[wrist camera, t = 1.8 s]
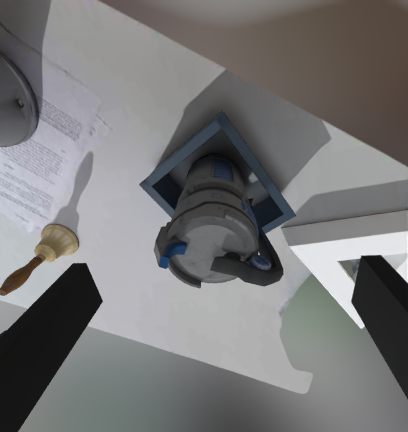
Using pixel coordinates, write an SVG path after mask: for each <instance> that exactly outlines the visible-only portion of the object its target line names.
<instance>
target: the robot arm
mask: <svg viewBox="0 0 408 432" xmlns="http://www.w3.org/2000/svg"><path fill="white" fill-rule="evenodd" d="M37 122H38V110H37V104H36V100H35V97H34V94H33V92H32V89H31V87H30V85H29V84H28V82H27V80H26V79H25V77H24V76H23V74H22V73H21V72H20V70H19V69H18V68H17V67H16V66H15V65H14V64H13V63H12V62H11V61H10V60H9V59H8V58H7V57H6V56H4V55H3V54H2V53H0V147H9V146H13V145H17V144H20V143H23V142H25V141H26V140H28V139H29V138H30V137H31V136H32V135H33V133H34V131H35V129H36V126H37ZM102 302H103V300H102V298H101V296H100V294H99V291H98V289H97V287H96V285H95V282H94V280H93V278H92V275H91V273H90V271H89V269H88V266H87V264H86V263H73V264H72V265H71V266H70V267H69V268H68V269H67V270H66V271H65V272H64V273H63V274H62V275H61V276H60V277H59V278H58V279H57V280H56V281H55V282H54V283H53V284H52V285H51V286H50V287H49V288H48V289H47V290H46V291H45V292H44V293H43V294H42V295H41V296H40V297H39V298H38V299H37V300H36V301H35V302H34V303H33V304H32V306H31V307H30V308H29V309H28V310H27V311H26V312H25V313H24V314H23V315H22V316H21V317H20V318H19V319H18V320H17V321H16V322H15V323H14V324H13V325H12V326H11V327H10V328H9V329H8V330H6V331H4V332H3V333H1V334H0V432H18V431H19V429H20V428H21V426H22V425H23V423H24V422H25V420H26V418H27V417H28V415H29V414H30V412H31V411H32V409H33V408H34V406H35V405H36V403H37V402H38V400H39V399H40V397H41V396H42V394H43V392H44V391H45V389H46V388H47V386H48V385H49V383H50V382H51V380H52V378H53V377H54V375H55V374H56V372H57V371H58V369H59V368H60V366H61V365H62V363H63V362H64V360H65V359H66V357H67V356H68V354H69V353H70V351H71V350H72V348H73V346H74V345H75V343H76V342H77V340H78V339H79V337H80V335H81V334H82V332H83V331H84V330H85V328H86V327H87V325H88V323H89V322H90V320H91V319H92V317H93V316H94V314H95V313H96V311H97V310H98V308H99V307H100V305H101V304H102ZM351 303H352V305H353V306H354V308H355V310H356V311H357V313H358V315H359V317H360V318H361V320H362V322H363V323H364V325H365V327H366V328H367V330H368V332H369V334H370V335H371V337H372V339H373V340H374V342H375V344H376V346H377V347H378V349H379V350H380V353H381V354H382V356H383V357H384V359H385V361H386V363H387V364H388V366H389V368H390V370H391V371H392V373H393V375H394V377H395V378H396V380H397V382H398V383H399V385H400V387H401V388H402V390H403V392H404V394H405V395H406V397H407V399H408V283H407V282H406V281H405V280H404V278H403V277H402V276H401V275H400V274H399V273H398V272H397V271H396V270H395V269H394V268H393V267H392V266H391V265H390V264H389V263H388V262H387V261H386V260H385V259H384V258H383V257H382V255H362V256H361V259H360V263H359V268H358V272H357V277H356V281H355V286H354V290H353V295H352V299H351Z"/></svg>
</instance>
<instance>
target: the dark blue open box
mask: <svg viewBox="0 0 408 432" xmlns="http://www.w3.org/2000/svg"><path fill="white" fill-rule="evenodd" d="M220 129H222V130H223V131H224V133H225V134H226V135H227V137H228V138H229V139H230V141H231V142H232V144H233V145H234V146H235V148H236V149H237V150H238V152H239V153H240V155H241V156H242V157H243V159H244V160H245V161H246V163H247V164H248V166H249V167H250V168H251V170H252V171H253V172H254V174H255V175H256V177H257V178H258V179H259V181H260V182H261V183H262V185H263V186H264V188H265V189H266V190H267V192H268V193H269V194H270V197H268V198H267V199H265V200H264V201H262V202H261V203H259V204H257V205H256V206H254V207H253V208H252V209H253V212H254V215H255V218H256V219H257V221H258V223H259V224H260V226H261V228H262V229H263V231H264V233H265V234H266V233H267V232H269V231H271V230H272V229H274V228H276V227H278V226H279V225H281V224H283V223H285V222H286V221H288V220H290V219H292V218H293V217H295V216H296V214H295V213H294V212H293V210H292V209H291V207H290V206H289V204H288V203H287V202H286V200H285V199H284V197H283V196H282V194H281V193H280V192H279V190H278V189H277V187H276V186H275V184H274V183H273V182H272V180H271V179H270V177H269V176H268V174H267V173H266V172H265V170H264V169H263V167H262V166H261V165H260V163H259V162H258V160H257V159H256V157H255V156H254V155H253V153H252V152H251V150H250V149H249V147H248V146H247V145H246V143H245V142H244V140H243V139H242V137H241V136H240V135H239V133H238V132H237V130H236V129H235V127H234V126H233V125H232V123H231V122H230V120H229V119H228V117H227V116H226V115H225V113H224V112H223V111H221V112H220V113H219V114H218V115H217V116H216V117H214V118H213V119H212V120H211V121H210V122H209V123H208V124H206V125H205V126H204V127H203V128H202V129H201V130H199V131H198V132H197V133H196V134H195V135H194V136H192V137H191V138H190V139H189V140H188V141H187V142H185V143H184V144H183V145H182V146H181V147H180V148H178V149H177V150H176V151H175V152H174V153H173V154H171V155H170V156H169V157H168V158H167V159H166V160H165V161H163V162H162V163H161V164H160V165H159V166H158V167H156V168H155V169H154V171H153V172H152V173H151V174H150V175H149V176H148V177H147V178H146V179H145V180H144V181H142V182H141V183H140V184H139V185H140V186H141V187H142V188H143V189H144V190H145V191H146V192H147V193H148V194H149V195H150V196H151V197H152V198H153V199H154V200H155V201H156V202H157V203H158V205H159V206H160V207H161V208H162V209H163V210H164V211H165V212H166V213H167V214H168V215H169V216H170V217H171V218H172V217H173V214H174V212H175V209H176V206H177V203H178V200H179V197H180V195H181V194H182V192H181V190H180V189H179V188H178V187H177V186H176V185H175V184H174V183H173V182H172V181H171V179H170V178H169V177H168V176H167V175H166V174H167V173H168V172H170V171H171V170H172V169H173V168H174V167H176V166H177V165H178V164H179V163H180V162H182V161H183V160H184V159H185V158H187V157H188V156H189V155H190V154H191V153H193V152H194V151H195V150H196V149H197V148H199V147H200V146H201V145H202V144H203V143H205V142H206V141H207V140H208V139H209V138H211V137H212V136H213V135H214V134H216V133H217V132H218V131H219V130H220Z"/></svg>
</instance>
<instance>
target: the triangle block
mask: <svg viewBox="0 0 408 432" xmlns="http://www.w3.org/2000/svg"><path fill="white" fill-rule="evenodd" d="M281 230H282V232H283V234H284V236H285V238H286V241H287V243H288V245H289V247H290V248H291V249H292V250H293V251H294V253H295V254H296V255H297V256H298V257H299V258H300V259H301V261H302V262H303V263H304V264H305V265H306V266H307V267H308V269H309V270H310V271H311V272H312V273H313V274H314V275H315V277H316V278H317V279H318V280H319V281H320V282H321V283H322V285H323V286H324V287H325V288H326V289H327V290H328V291H329V293H330V294H331V295H332V296H333V297H334V298H335V299H336V301H337V302H338V303H339V304H340V305H341V306H342V307H343V309H344V310H345V311H346V312H347V313H348V314H349V316H350V317H351V318H352V319H353V320H354V321H355V322H356V323H357V325H359V327H360V328H361V329H362V328H363V327H364V326H365V325H364V323H363V322H362V320H361V318H360V317H359V315H358V313H357V311H356V310H355V308H354V306H353V305H352V303H351V299H352V295H353V290H354V286H355V281H356V277H357V272H358V270H357V271H356V272H355V273H354V274H353V276H352V277H351V276H350V275H349V274H348V273H347V271H346V270H345V269H344V268H343V266H342V265H341V264H340V262H339V261H343V260H352V259H360V258H361V256H362V255H382V257H383V258H384V259H385V260H386V261H387V262H388V263H389V264H390V265H391V266H392V267H393V268H394V269H395V270H396V271H397V272H398V273H399V274H400V275H401V276H402V277H403V278H404V280H405V281H406V282H407V283H408V210H404V211H397V212H390V213H383V214H376V215H369V216H362V217H355V218H349V219H342V220H335V221H328V222H321V223H314V224H307V225H300V226H293V227H286V228H281Z"/></svg>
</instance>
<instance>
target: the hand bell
mask: <svg viewBox="0 0 408 432" xmlns="http://www.w3.org/2000/svg"><path fill="white" fill-rule="evenodd" d="M41 238H42V240H41V241H40V243H39V244H38V245H37V246H36V247H35V250H34V251H35V255H36V257H34V258H33V259H32V260H31V261H30V262H29V263H28V264H27V265H26V266H24V267H22V268H20V269H18V270H16V271H15V272H13V273H12V274H11V275H10V276H9V277H8V278H7V279H6V280H5V281H4V283H3V285H2V287H1V288H0V295H2V296H5V295H7V294H8V293H10V292H12V291H14V290H16V289H17V288H19V287H20V286H21V285H23V284H24V283H25V281H26V280H27V279H28V278H29V276H30V274H31V273H32V271H33V270H34V269H35V268H36V267H37V266H38V265H40V264H41V263H42V262H43V261H45V262H52V261H54V260H55V259H57V258H58V257H60V256H61V255H69V254H72V253H74V252H75V251H76V250H77V249H78V240H77V238H76V236H75V235H74V233H73V232H72V231H70V230H69V229H68V228H66V227H64V226H61V225H57V224H51V225H48V226H46V227H45V228H44V229H43V230H42V233H41Z"/></svg>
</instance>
